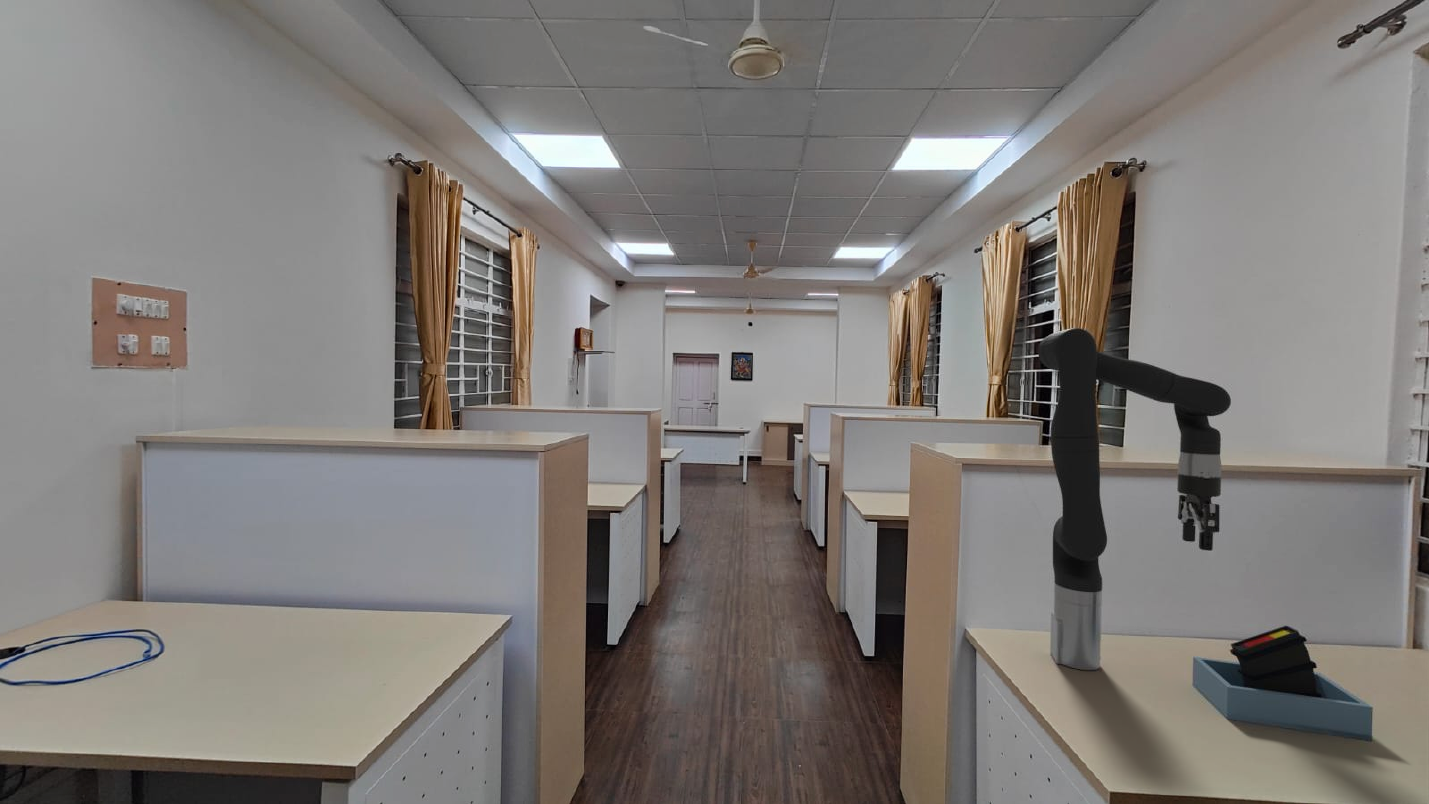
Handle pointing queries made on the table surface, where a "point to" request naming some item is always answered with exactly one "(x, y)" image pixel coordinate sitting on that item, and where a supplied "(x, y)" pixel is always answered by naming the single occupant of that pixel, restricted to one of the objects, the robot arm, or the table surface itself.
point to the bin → (1283, 702)
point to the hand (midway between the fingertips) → (1196, 545)
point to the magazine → (1277, 662)
